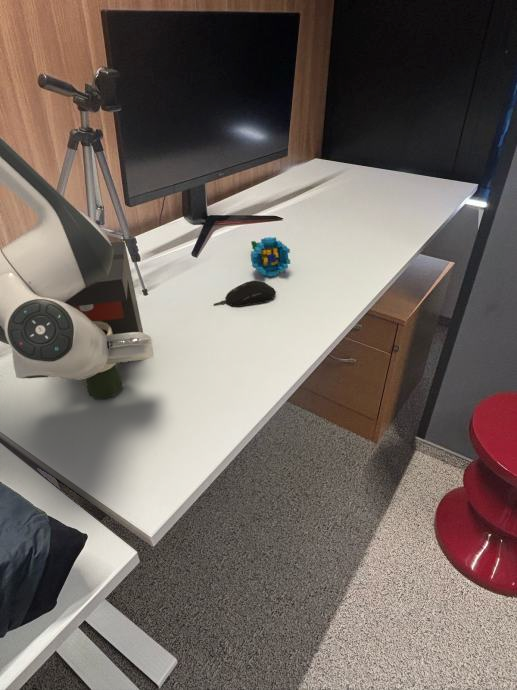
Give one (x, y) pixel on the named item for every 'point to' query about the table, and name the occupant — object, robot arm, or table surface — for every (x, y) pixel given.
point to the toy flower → (269, 256)
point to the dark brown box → (112, 296)
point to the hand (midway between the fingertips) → (96, 358)
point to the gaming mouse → (249, 294)
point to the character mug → (104, 375)
